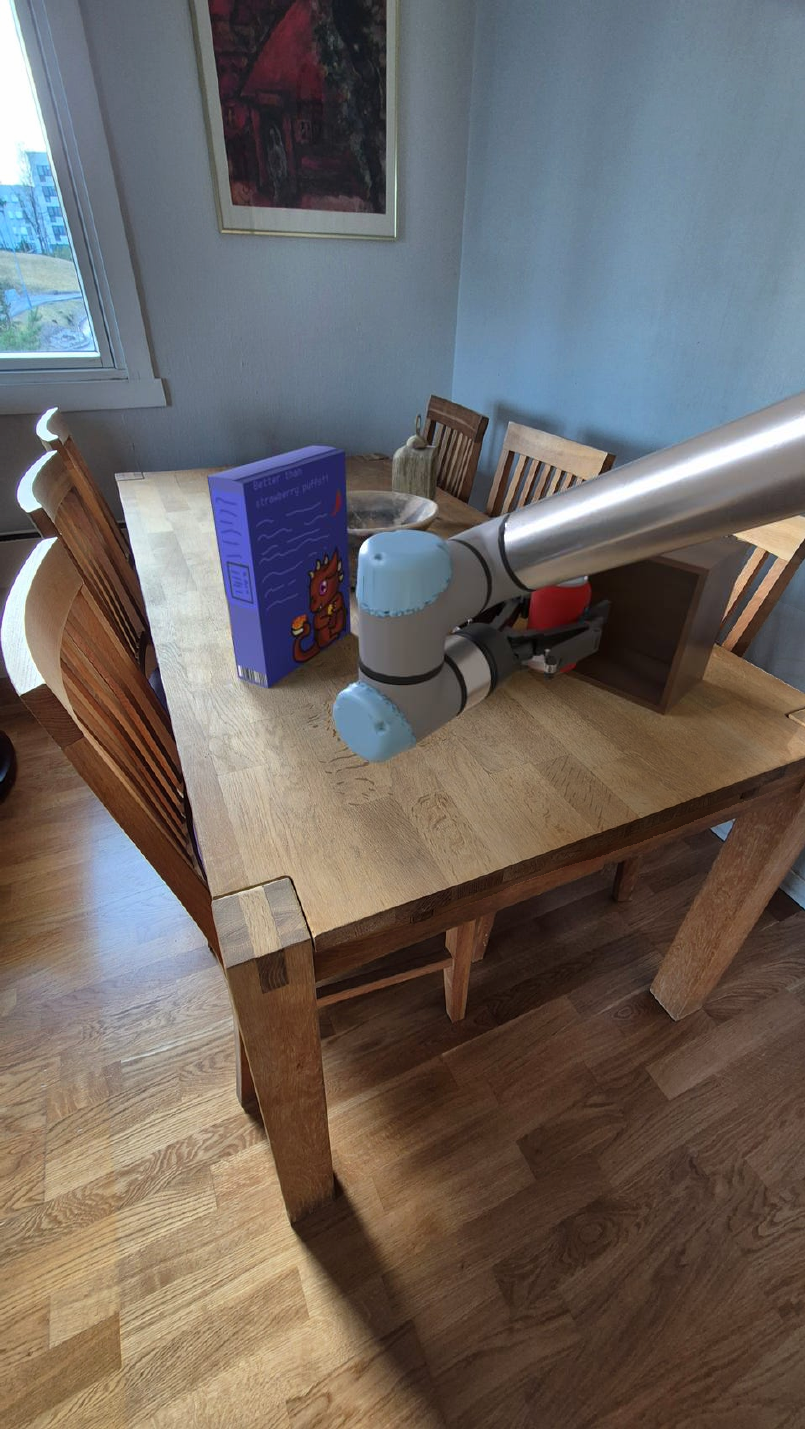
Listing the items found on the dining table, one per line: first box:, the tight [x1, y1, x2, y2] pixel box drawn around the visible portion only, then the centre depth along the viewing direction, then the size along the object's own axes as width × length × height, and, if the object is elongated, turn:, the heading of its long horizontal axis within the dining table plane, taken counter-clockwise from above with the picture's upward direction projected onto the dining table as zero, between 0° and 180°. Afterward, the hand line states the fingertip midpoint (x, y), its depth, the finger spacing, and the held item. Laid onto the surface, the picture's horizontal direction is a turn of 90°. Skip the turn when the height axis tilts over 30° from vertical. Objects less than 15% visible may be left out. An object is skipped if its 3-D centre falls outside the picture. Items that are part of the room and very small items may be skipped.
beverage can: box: [526, 576, 591, 675], centre depth 76 cm, size 7×7×12 cm
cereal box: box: [206, 445, 352, 689], centre depth 94 cm, size 22×6×30 cm, turn 149°
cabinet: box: [563, 536, 750, 716], centre depth 94 cm, size 14×24×22 cm, turn 47°
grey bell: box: [391, 413, 439, 503], centre depth 152 cm, size 14×9×25 cm, turn 170°
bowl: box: [346, 490, 441, 589], centre depth 124 cm, size 27×26×15 cm
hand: (578, 601), depth 78 cm, fingers closed on beverage can, 7 cm apart
